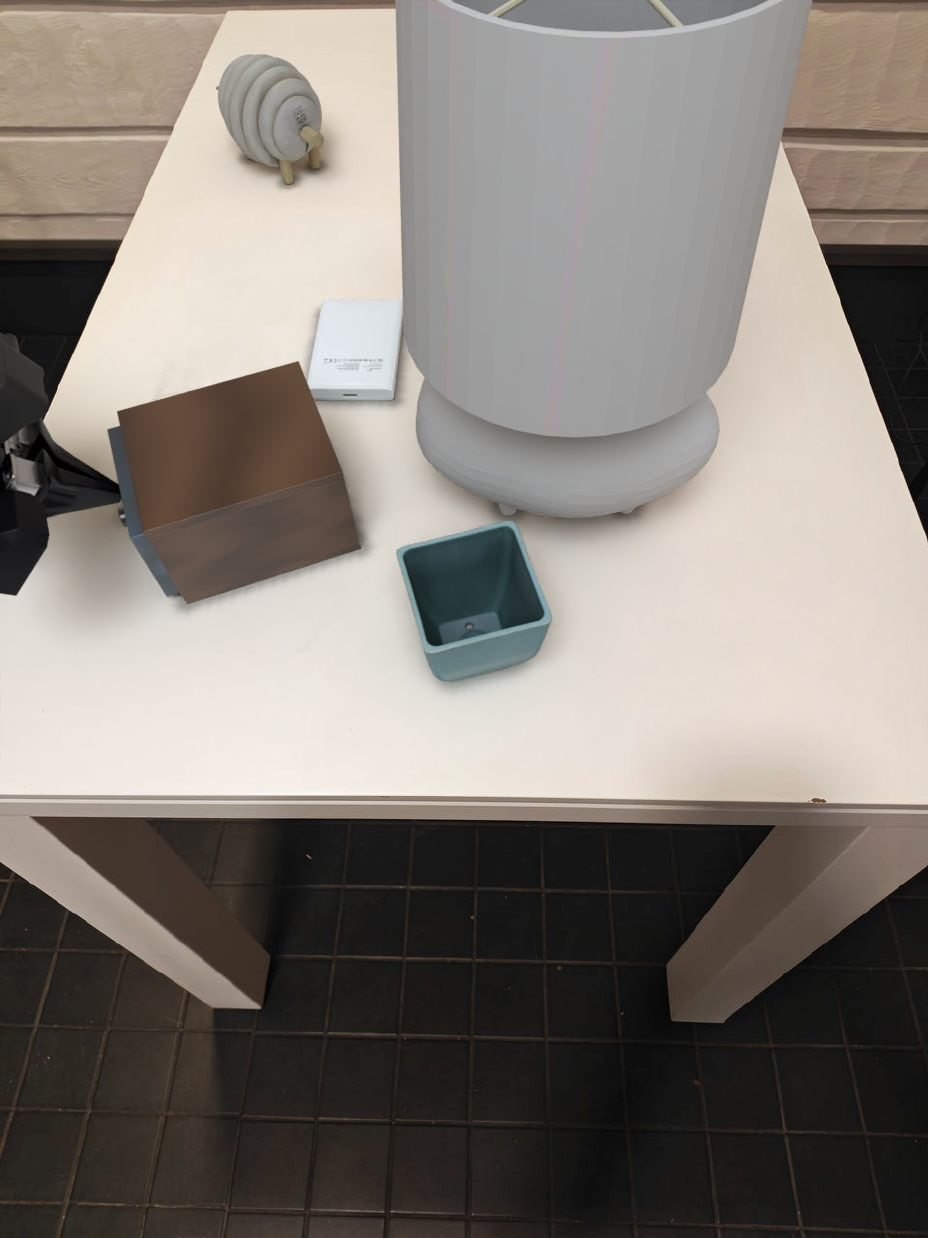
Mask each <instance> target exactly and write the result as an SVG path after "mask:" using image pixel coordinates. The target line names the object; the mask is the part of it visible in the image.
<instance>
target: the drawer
mask: <svg viewBox="0 0 928 1238" xmlns="http://www.w3.org/2000/svg"><path fill="white" fill-rule="evenodd" d="M106 432H107V435H108V440H109V445H110V450H111V456H112V459H113V464H114V469H115V474H116V480H117V483H118V484H119V489H120V494H121V499H122V500H121V503H122V507H118V508H117V514H118V517H119V520H120V522H121V525H122V526H123V527H124V528H125V529H127V532H128V537H129V539H130V542H131V543H132V545H133V546H134V548H135V549H136V551H137V553H138V554H139V555H140V557H141V558H142V560H143V561H144V564H145V565H146V567H147V568H148V569H149V571H150V573H151V574H152V576H153V577H154V579H155V580H156V583H157V584H158V585H159V587H160V588H161V590H162V591H163V593H164V595H165V596H166V597H171V596H174V595H177V594H180V592H179V590H178V589H177V587H176V585H175V584H174V582H173V580H172V579H171V577H170V575H169V574H168V572H167V570H166V569H165V567H164V566H163V564H162V562H161V561H160V559H159V557H158V556H157V554H156V552H155V551H154V549H153V547H152V546H151V544H150V542H149V541H148V539H147V537H146V536H145V534H144V532H143V528H142V524H141V519H140V515H139V510H138V506H137V501H136V496H135V492H134V487H133V483H132V478H131V474H130V469H129V465H128V460H127V456H126V451H125V447H124V442H123V438H122V433H121V428H120V425H117V426H114V427H113V426H112V427H110V428H107V429H106Z"/></svg>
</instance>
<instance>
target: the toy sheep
mask: <svg viewBox="0 0 928 1238" xmlns="http://www.w3.org/2000/svg"><path fill="white" fill-rule="evenodd" d="M215 90H216V91H217V102H218V107H219V112H220V114H221V117H222V119H223V121H224V124H225V127H226V129H227V131H228V133H229V135H230V137H231V138H232V139H233V141H234V142H235V143H236V144H237V146H238V147H239V149H240V150H241V152H242V153H244V158H246V159H247V160H252V161H254V162H257V163H260V164H263V165H266V166H269V167H273V168H279V169H280V172H281V176H282V181H283V183H284V184H286V185H291V184H293V183H294V181H295V177H294V172H293V167H292V164H294V163H295V162H296V161H298V160H299V159H301V158H303V157H304V156H306V155H307V156H308V162H309V165H310V167H311V168H312V169H314V170H317V169H320V167H321V165H322V162H321V156H320V152H319V148H321V147H323V145H324V136H323V135H322V134H321V133H320V132H321V129H322V123H323V122H322V121H323V112H322V111H323V110H322V104H321V102H320V98H319V96H318V94H317V93H316V91H315V89H314V88H313V87H312V85H311V83H310V82H309V80H308V79H307V77H306V76H305V75H304V74H303V73H301V72H300V71H299V70H298V69H297V68H296V66H294V65H293V64H292V63H291V62H289V61H287V60H286V59H283V58H280V57H277V56H272V55H268V54H263V53H262V54H261V53H260V54H259V53H258V54H244V55H240V56H239V57H236V58H235V59H234V60H232V61H231V62H230V63H229V64H228V65H227V67H226V68H225V69H224V71H223V73H222V75H221V78H220V79H219V84H218V85H217V86H215Z"/></svg>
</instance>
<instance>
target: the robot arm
mask: <svg viewBox="0 0 928 1238" xmlns="http://www.w3.org/2000/svg"><path fill="white" fill-rule="evenodd" d="M44 377H45V371H44V369H43V367H42V366H40V365H38V364H37V363H36V362H35V361H32V360H31V359H30V358H28V357H27V356H26V355H24V354H23V353H21V352H20V348H19V342H18V337H17V336H16V335H14V334H12V333H4V334H3V333H1V332H0V594H1V595H8V596H13V597H17V596H18V594H19V593H20V591H21V590H22V588H23V586H24V585H25V584H26V581H27V580H28V578H29V577H30V576H31V574H32V572H33V570H34V569H35V567H36V566H37V564H38V562H40V559H41V558H42V556H43V555H44V553H45V552H46V550H47V548H48V545H49V544H48V543H49V540H50V527H49V522H48V519H50V518H54V517H57V516H60V515H65V514H69V513H74V512H80V511H85V510H91V509H95V508H99V507H100V508H101V507H106V506H110V505H116V504H119V503H121V502H122V499H121V494H120V489H119V484H118V482H116V481H115V480H113V479H111V478H110V477H108V476H106V475H105V474H104V473H102V472H100V471H99V470H97V469H95V468H93V467H92V466H91V465H89V464H88V463H86V462H84V461H83V460H81V459H80V458H78V457H76V456H75V455H73V453H71V452H69V451H68V450H66V449H65V448H63V447H62V446H61V445H59V443H57V442H55V440H54V439H53V438H52V435H51V433H50V432H49V429H48V428H47V426H46V424H45V422H44V420H43V417H44V416H45V414H46V413H47V411H48V408H49V405H50V403H49V396H48V395H47V393H46V391H45V385H44Z"/></svg>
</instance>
